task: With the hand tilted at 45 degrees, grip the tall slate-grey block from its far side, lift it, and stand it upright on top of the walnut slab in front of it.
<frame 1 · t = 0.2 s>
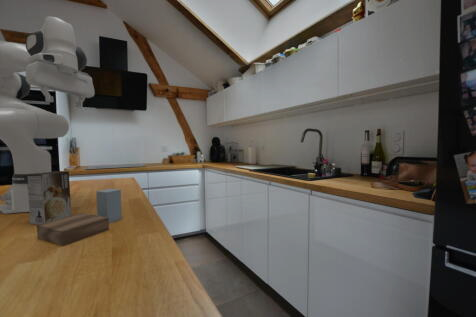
hand: (65, 104, 80), 39 cm above the counter, tool pointing down, fingers open, 8 cm apart
coffee box: (51, 220, 76), on the counter
walnut slab: (74, 235, 64), on the counter
slate block: (109, 220, 76), on the counter
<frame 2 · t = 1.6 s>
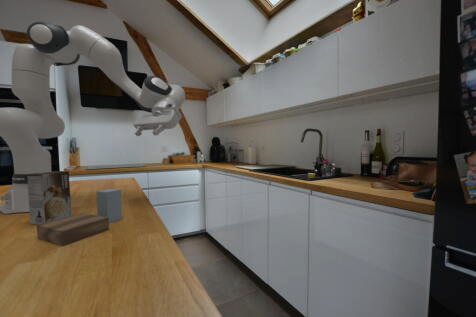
hand: (145, 134, 89), 29 cm above the counter, tool tilted 45°, fingers open, 8 cm apart
nothing on the counter moved.
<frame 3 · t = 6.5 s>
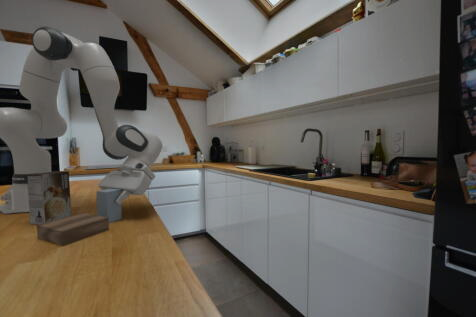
hand: (110, 202, 76), 6 cm above the counter, tool tilted 45°, fingers closed on slate block, 5 cm apart
slate block: (109, 220, 76), on the counter, touching gripper
everything else where it was.
when the fingers open (11 cm above the counter, at t = 12.3 s): slate block drops 1 cm, resting on walnut slab.
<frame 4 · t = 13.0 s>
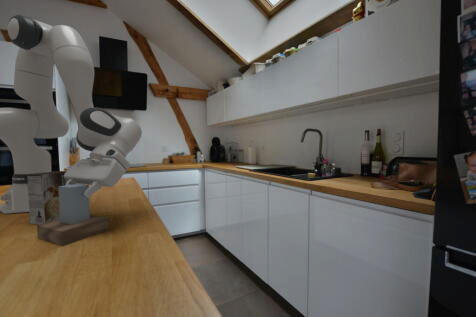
hand: (74, 195, 64), 11 cm above the counter, tool tilted 45°, fingers open, 8 cm apart
walnut slab: (74, 235, 64), on the counter, touching slate block
slate block: (75, 220, 64), point 4 cm above the counter, touching walnut slab
everything else where it was.
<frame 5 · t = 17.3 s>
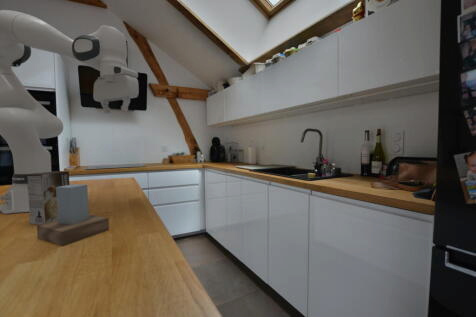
hand: (115, 112, 84), 37 cm above the counter, tool pointing down, fingers open, 8 cm apart
nothing on the counter moved.
at the end: slate block 0.3 cm off-centre on the walnut slab, point 4.0 cm above the walnut slab's base; slate block tilted 0°; the gripper is holding nothing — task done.
